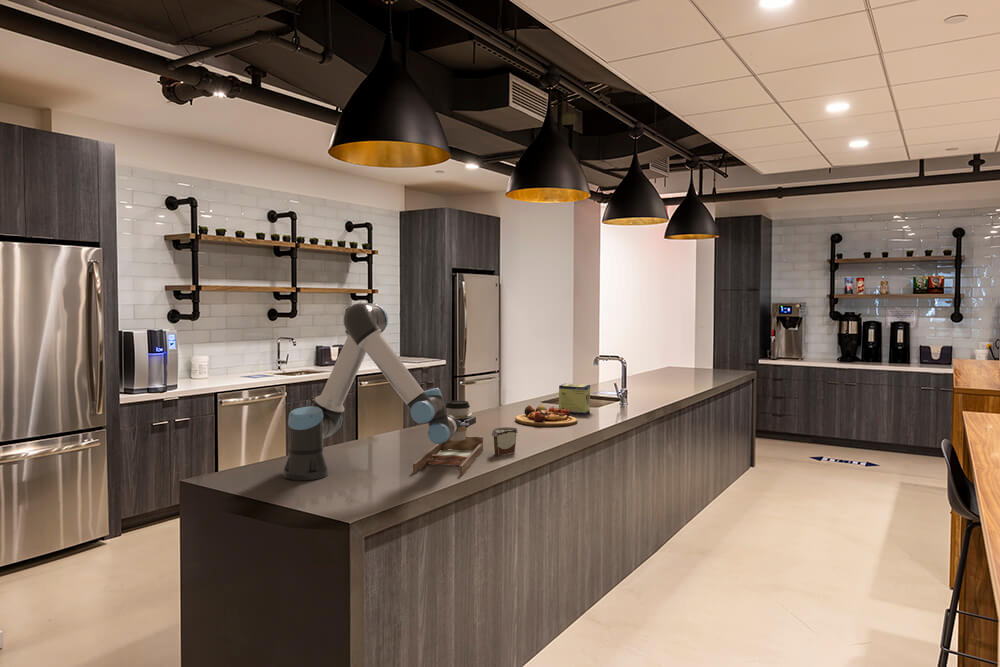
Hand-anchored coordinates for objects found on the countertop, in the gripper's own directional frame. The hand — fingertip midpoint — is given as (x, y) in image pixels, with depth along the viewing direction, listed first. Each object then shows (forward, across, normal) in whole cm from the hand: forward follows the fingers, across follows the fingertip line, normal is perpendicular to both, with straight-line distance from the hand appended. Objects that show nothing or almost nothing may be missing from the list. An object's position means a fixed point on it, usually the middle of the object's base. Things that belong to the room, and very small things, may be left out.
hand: (460, 416), depth 278 cm
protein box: (+107, +41, -16) cm, 116 cm away
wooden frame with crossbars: (-18, 0, -15) cm, 23 cm away
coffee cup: (-5, 0, -9) cm, 10 cm away
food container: (+1, +17, -15) cm, 23 cm away
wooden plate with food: (+77, +28, -16) cm, 84 cm away
